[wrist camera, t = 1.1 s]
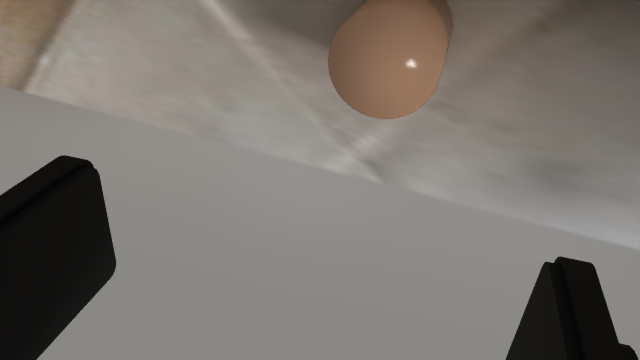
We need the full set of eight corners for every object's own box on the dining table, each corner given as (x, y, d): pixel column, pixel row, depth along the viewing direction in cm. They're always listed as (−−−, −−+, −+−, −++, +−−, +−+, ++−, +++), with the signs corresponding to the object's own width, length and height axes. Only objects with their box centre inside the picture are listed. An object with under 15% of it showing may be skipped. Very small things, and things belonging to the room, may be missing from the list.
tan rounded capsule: (459, -18, 26) (449, 12, 20) (445, 75, 28) (433, 125, 23) (364, -24, 27) (329, 2, 21) (359, 66, 30) (327, 111, 24)
